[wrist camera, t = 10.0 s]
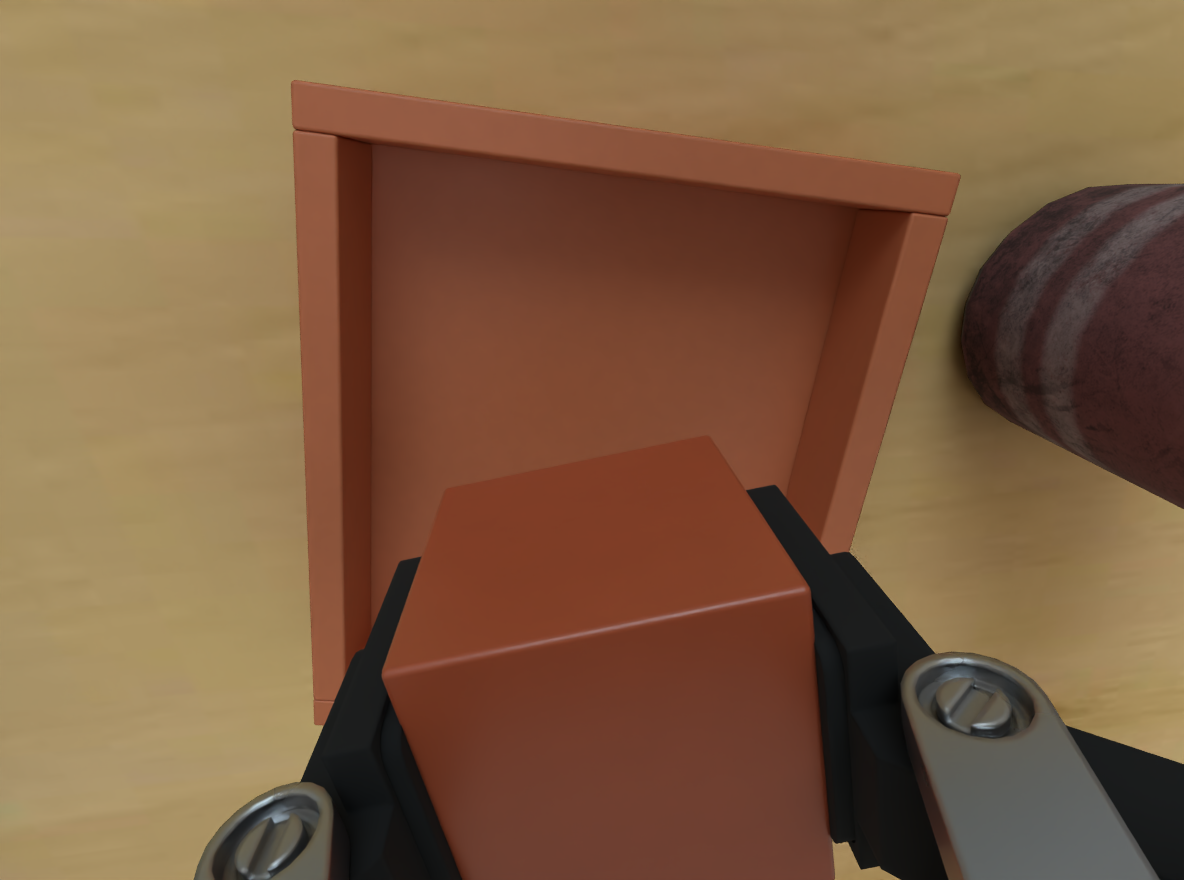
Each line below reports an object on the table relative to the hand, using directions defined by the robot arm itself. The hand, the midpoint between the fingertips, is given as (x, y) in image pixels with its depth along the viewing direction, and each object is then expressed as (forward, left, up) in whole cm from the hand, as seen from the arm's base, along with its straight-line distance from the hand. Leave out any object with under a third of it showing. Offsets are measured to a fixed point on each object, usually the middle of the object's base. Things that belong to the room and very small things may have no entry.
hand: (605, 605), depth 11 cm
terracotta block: (0, 0, -1) cm, 1 cm away
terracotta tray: (0, 0, -7) cm, 7 cm away
